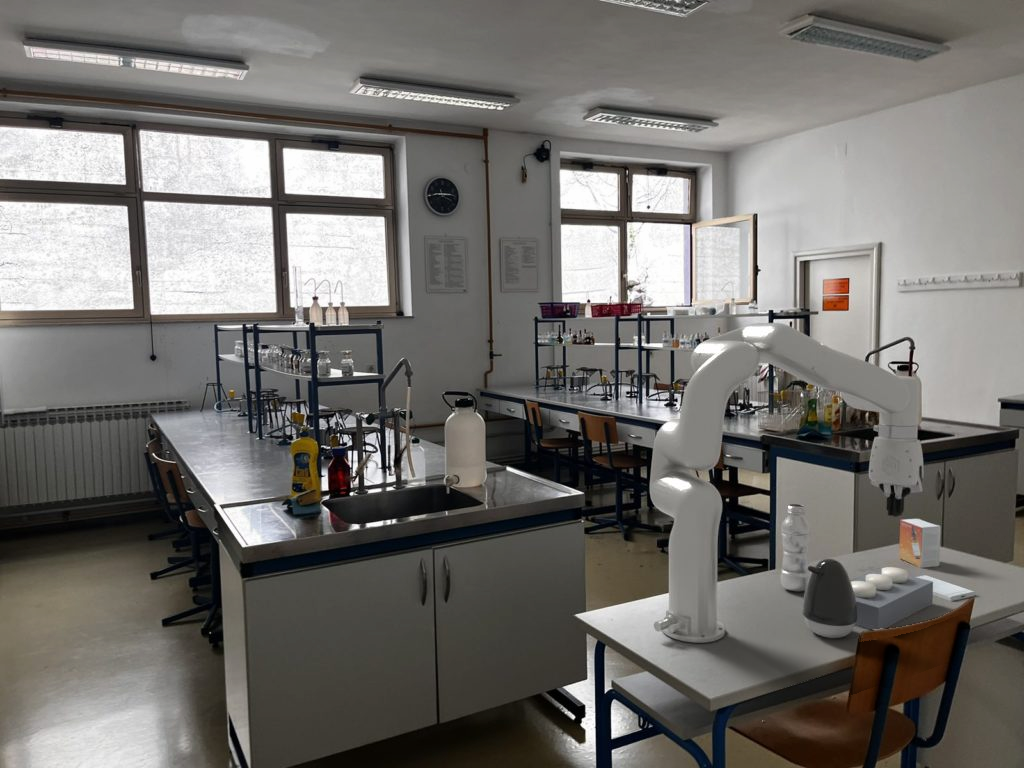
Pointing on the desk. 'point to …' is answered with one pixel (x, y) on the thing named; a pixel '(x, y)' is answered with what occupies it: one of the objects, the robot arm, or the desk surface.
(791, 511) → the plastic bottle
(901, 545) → the small box
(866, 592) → the knob near
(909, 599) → the housing
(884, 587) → the knob mid
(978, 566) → the desk surface
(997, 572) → the desk surface
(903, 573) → the knob far
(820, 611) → the dark grey penguin figure
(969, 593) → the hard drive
